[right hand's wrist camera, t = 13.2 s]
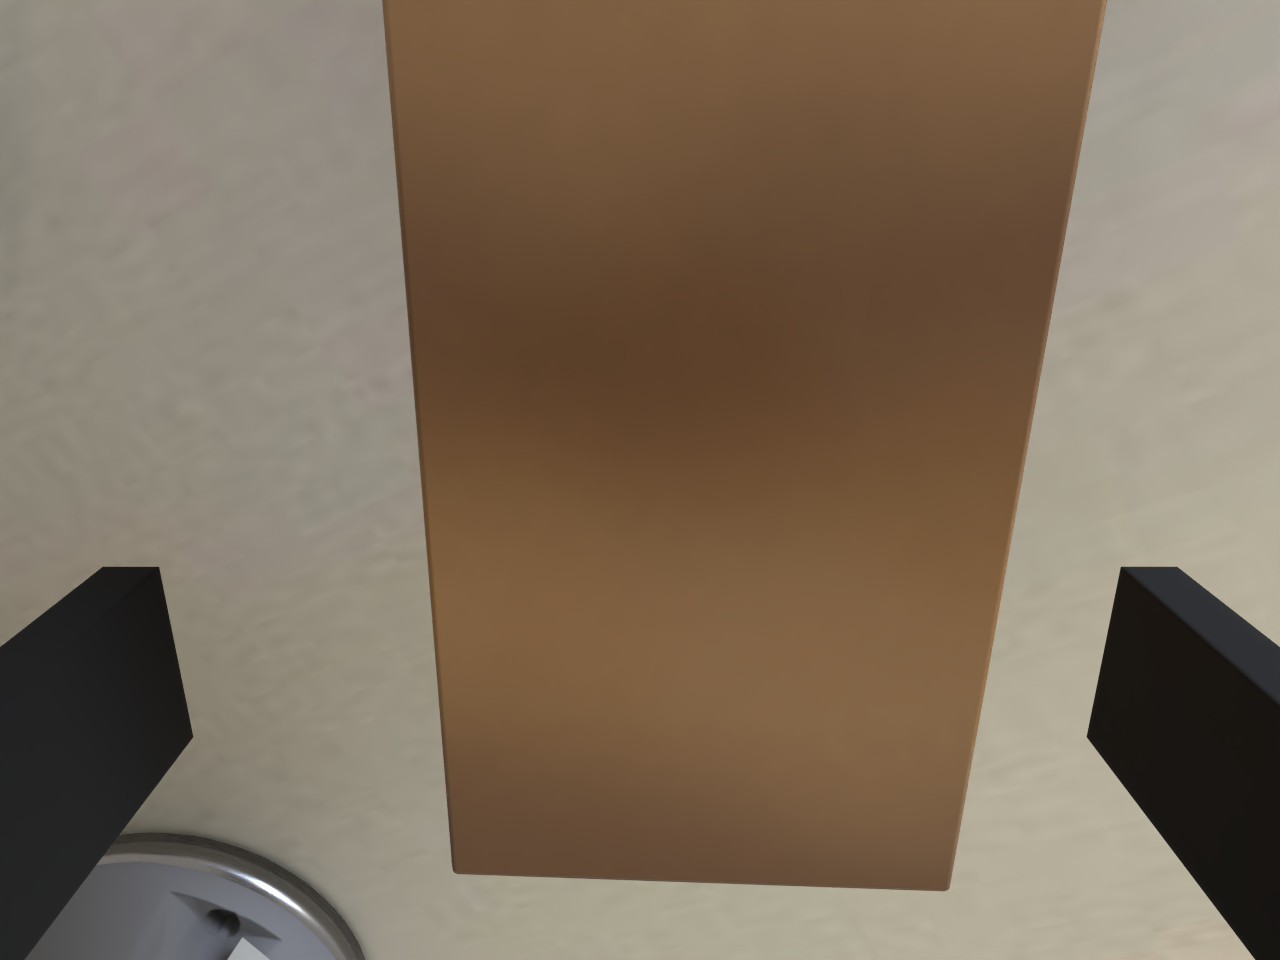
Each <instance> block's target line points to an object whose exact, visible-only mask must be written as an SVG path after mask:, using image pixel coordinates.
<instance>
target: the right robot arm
mask: <svg viewBox="0 0 1280 960" xmlns="http://www.w3.org/2000/svg"><path fill="white" fill-rule="evenodd" d="M192 738H193V733H192V728H191V723H190V718H189V713H188V708H187V704H186V699H185V694H184V689H183V684H182V679H181V674H180V669H179V664H178V659H177V654H176V649H175V644H174V639H173V634H172V629H171V624H170V619H169V614H168V609H167V604H166V599H165V594H164V589H163V584H162V579H161V574H160V569H159V567H102V568H101V569H100V570H98V571H97V572H96V573H94V574H93V575H92V576H91V577H89V578H88V579H87V580H86V581H84V582H83V583H82V584H80V585H79V586H78V587H77V588H75V589H74V590H73V591H71V592H70V593H69V594H68V595H66V596H65V597H64V598H62V599H61V600H60V601H59V602H57V603H56V604H55V605H54V606H52V607H51V608H50V609H48V610H47V611H46V612H45V613H43V614H42V615H41V616H39V617H38V618H37V619H36V620H34V621H33V622H32V623H31V624H29V625H28V626H27V627H25V628H24V629H23V630H22V631H20V632H19V633H18V634H16V635H15V636H14V637H13V638H11V639H10V640H9V641H8V642H6V643H5V644H4V645H2V646H1V647H0V960H365V958H364V955H363V953H362V950H361V948H360V946H359V944H358V942H357V940H356V938H355V936H354V935H353V933H352V931H351V930H350V928H349V927H348V926H347V924H346V923H345V921H344V920H343V919H342V917H341V916H340V915H339V914H338V913H337V912H336V910H335V909H334V908H333V907H332V906H331V905H330V904H329V903H328V902H327V901H326V900H325V899H324V898H323V897H322V896H321V895H320V894H318V893H317V892H316V891H315V890H314V889H312V888H311V887H310V886H309V885H308V884H306V883H305V882H303V881H302V880H301V879H299V878H298V877H296V876H295V875H293V874H292V873H290V872H289V871H287V870H285V869H283V868H282V867H280V866H278V865H277V864H275V863H273V862H271V861H269V860H267V859H265V858H263V857H261V856H258V855H256V854H253V853H251V852H248V851H246V850H244V849H241V848H238V847H235V846H232V845H229V844H225V843H222V842H218V841H214V840H210V839H206V838H200V837H194V836H189V835H180V834H169V833H140V834H128V835H121V836H119V834H120V833H121V832H122V830H123V829H124V828H125V826H126V825H127V824H128V822H129V821H130V820H131V819H132V817H133V816H134V815H135V813H136V812H137V811H138V809H139V808H140V807H141V805H142V804H143V803H144V801H145V800H146V799H147V797H148V796H149V795H150V793H151V792H152V791H153V789H154V788H155V787H156V785H157V784H158V783H159V782H160V780H161V779H162V778H163V776H164V775H165V774H166V772H167V771H168V770H169V768H170V767H171V766H172V764H173V763H174V762H175V760H176V759H177V758H178V756H179V755H180V754H181V752H182V751H183V750H184V749H185V747H186V746H187V745H188V743H189V742H190V741H191V739H192ZM1087 738H1088V739H1089V741H1090V742H1091V743H1092V745H1093V746H1094V747H1095V749H1096V750H1097V751H1098V752H1099V754H1100V755H1101V756H1102V758H1103V759H1104V760H1105V762H1106V763H1107V764H1108V766H1109V767H1110V768H1111V770H1112V771H1113V772H1114V774H1115V775H1116V776H1117V778H1118V779H1119V780H1120V782H1121V783H1122V784H1123V785H1124V787H1125V788H1126V789H1127V791H1128V792H1129V793H1130V795H1131V796H1132V797H1133V799H1134V800H1135V801H1136V803H1137V804H1138V805H1139V807H1140V808H1141V809H1142V811H1143V812H1144V813H1145V815H1146V816H1147V817H1148V819H1149V820H1150V821H1151V822H1152V824H1153V825H1154V826H1155V828H1156V829H1157V830H1158V832H1159V833H1160V834H1161V836H1162V837H1163V838H1164V840H1165V841H1166V842H1167V844H1168V845H1169V846H1170V848H1171V849H1172V850H1173V852H1174V853H1175V854H1176V856H1177V857H1178V858H1179V859H1180V861H1181V862H1182V863H1183V865H1184V866H1185V867H1186V869H1187V870H1188V871H1189V873H1190V874H1191V875H1192V877H1193V878H1194V879H1195V881H1196V882H1197V883H1198V885H1199V886H1200V887H1201V889H1202V890H1203V891H1204V893H1205V894H1206V895H1207V896H1208V898H1209V899H1210V900H1211V902H1212V903H1213V904H1214V906H1215V907H1216V908H1217V910H1218V911H1219V912H1220V914H1221V915H1222V916H1223V918H1224V919H1225V920H1226V922H1227V923H1228V924H1229V926H1230V927H1231V928H1232V929H1233V931H1234V932H1235V933H1236V935H1237V936H1238V937H1239V939H1240V940H1241V941H1242V943H1243V944H1244V945H1245V947H1246V948H1247V949H1248V951H1249V952H1250V953H1251V955H1252V956H1253V957H1254V959H1255V960H1280V647H1279V646H1278V645H1276V644H1275V643H1274V642H1272V641H1271V640H1270V639H1269V638H1267V637H1266V636H1265V635H1264V634H1262V633H1261V632H1260V631H1258V630H1257V629H1256V628H1255V627H1253V626H1252V625H1251V624H1249V623H1248V622H1247V621H1246V620H1244V619H1243V618H1242V617H1241V616H1239V615H1238V614H1237V613H1235V612H1234V611H1233V610H1232V609H1230V608H1229V607H1228V606H1226V605H1225V604H1224V603H1223V602H1221V601H1220V600H1219V599H1218V598H1216V597H1215V596H1214V595H1212V594H1211V593H1210V592H1209V591H1207V590H1206V589H1205V588H1203V587H1202V586H1201V585H1200V584H1198V583H1197V582H1196V581H1194V580H1193V579H1192V578H1191V577H1189V576H1188V575H1187V574H1186V573H1184V572H1183V571H1182V570H1180V569H1179V568H1178V567H1121V569H1120V574H1119V579H1118V584H1117V589H1116V594H1115V599H1114V604H1113V609H1112V614H1111V619H1110V624H1109V629H1108V634H1107V639H1106V644H1105V649H1104V654H1103V659H1102V664H1101V669H1100V674H1099V679H1098V684H1097V689H1096V694H1095V699H1094V703H1093V708H1092V713H1091V718H1090V723H1089V728H1088V733H1087Z"/></svg>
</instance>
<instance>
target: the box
mask: <svg viewBox="0 0 1280 960" xmlns="http://www.w3.org/2000/svg"><path fill="white" fill-rule="evenodd" d="M382 2H383V15H384V27H385V40H386V52H387V64H388V77H389V89H390V101H391V114H392V126H393V139H394V151H395V163H396V176H397V188H398V200H399V213H400V225H401V238H402V250H403V262H404V275H405V287H406V299H407V312H408V324H409V337H410V349H411V361H412V374H413V386H414V398H415V411H416V423H417V436H418V448H419V460H420V473H421V485H422V497H423V510H424V522H425V535H426V547H427V559H428V572H429V584H430V596H431V609H432V621H433V634H434V646H435V658H436V671H437V683H438V695H439V708H440V720H441V733H442V745H443V757H444V770H445V782H446V794H447V807H448V819H449V832H450V844H451V856H452V867H453V871H454V873H457V874H472V875H501V876H529V877H557V878H586V879H614V880H642V881H670V882H699V883H727V884H755V885H783V886H812V887H840V888H868V889H897V890H925V891H946V890H948V889H949V887H950V882H951V876H952V871H953V865H954V859H955V854H956V848H957V842H958V837H959V831H960V825H961V820H962V814H963V809H964V803H965V797H966V792H967V786H968V780H969V775H970V769H971V763H972V758H973V752H974V747H975V741H976V735H977V730H978V724H979V718H980V713H981V707H982V701H983V696H984V690H985V685H986V679H987V673H988V668H989V662H990V656H991V651H992V645H993V639H994V634H995V628H996V623H997V617H998V611H999V606H1000V600H1001V594H1002V589H1003V583H1004V578H1005V572H1006V566H1007V561H1008V555H1009V549H1010V544H1011V538H1012V532H1013V527H1014V521H1015V516H1016V510H1017V504H1018V499H1019V493H1020V487H1021V482H1022V476H1023V470H1024V465H1025V459H1026V454H1027V448H1028V442H1029V437H1030V431H1031V425H1032V420H1033V414H1034V408H1035V403H1036V397H1037V392H1038V386H1039V380H1040V375H1041V369H1042V363H1043V358H1044V352H1045V346H1046V341H1047V335H1048V330H1049V324H1050V318H1051V313H1052V307H1053V301H1054V296H1055V290H1056V284H1057V279H1058V273H1059V268H1060V262H1061V256H1062V251H1063V245H1064V239H1065V234H1066V228H1067V223H1068V217H1069V211H1070V206H1071V200H1072V194H1073V189H1074V183H1075V177H1076V172H1077V166H1078V161H1079V155H1080V149H1081V144H1082V138H1083V132H1084V127H1085V121H1086V115H1087V110H1088V104H1089V99H1090V93H1091V87H1092V82H1093V76H1094V70H1095V65H1096V59H1097V53H1098V48H1099V42H1100V37H1101V31H1102V25H1103V20H1104V14H1105V8H1106V3H1107V0H382Z"/></svg>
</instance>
